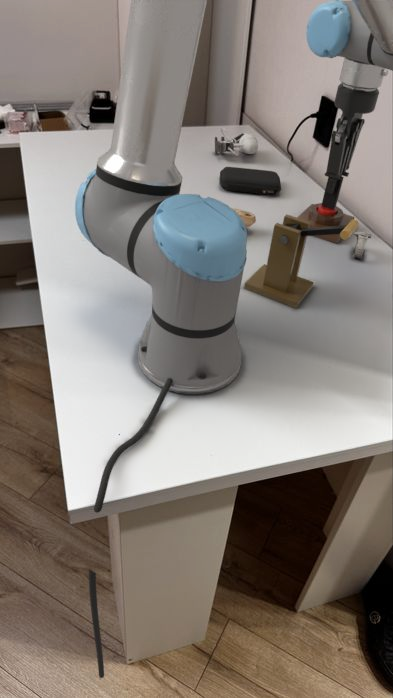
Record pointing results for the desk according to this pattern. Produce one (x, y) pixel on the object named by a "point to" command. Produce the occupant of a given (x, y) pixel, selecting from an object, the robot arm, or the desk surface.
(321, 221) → the switch block
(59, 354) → the desk surface
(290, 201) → the desk surface
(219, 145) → the clip-on lamp
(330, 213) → the button
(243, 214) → the pottery oil lamp
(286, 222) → the bracket
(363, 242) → the wristwatch
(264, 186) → the carrying case
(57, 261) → the desk surface
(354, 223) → the pivoting switch lever
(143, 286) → the desk surface
